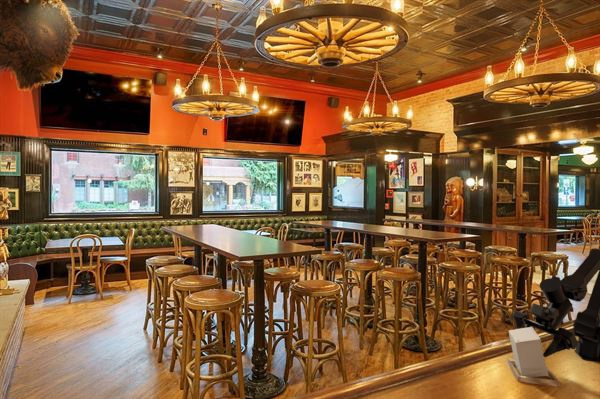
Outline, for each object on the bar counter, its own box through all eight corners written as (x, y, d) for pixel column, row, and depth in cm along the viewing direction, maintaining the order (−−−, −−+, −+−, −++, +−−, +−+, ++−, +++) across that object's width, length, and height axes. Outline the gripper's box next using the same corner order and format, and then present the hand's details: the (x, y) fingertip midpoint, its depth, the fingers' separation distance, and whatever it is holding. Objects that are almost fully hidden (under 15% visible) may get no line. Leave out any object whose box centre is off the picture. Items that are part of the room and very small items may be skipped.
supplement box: (548, 376, 125) (541, 339, 122) (522, 379, 127) (514, 343, 124) (539, 360, 132) (532, 326, 129) (514, 364, 134) (507, 329, 131)
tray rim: (544, 368, 134) (544, 363, 134) (559, 387, 123) (560, 382, 123) (506, 363, 136) (506, 358, 136) (517, 381, 125) (517, 376, 125)
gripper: (519, 286, 137) (492, 321, 133) (578, 305, 121) (550, 346, 116) (530, 308, 141) (505, 342, 137) (589, 329, 125) (562, 369, 121)
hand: (528, 349), depth 128 cm, fingers closed on supplement box, 9 cm apart
